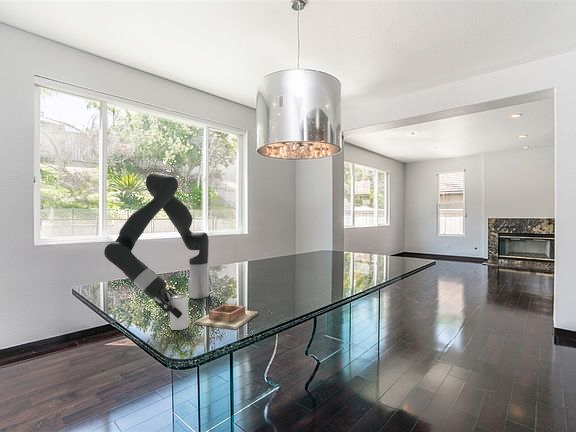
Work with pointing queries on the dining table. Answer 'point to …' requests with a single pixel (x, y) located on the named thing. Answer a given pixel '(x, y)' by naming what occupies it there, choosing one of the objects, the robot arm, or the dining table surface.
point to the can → (182, 305)
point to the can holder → (227, 317)
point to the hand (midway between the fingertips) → (183, 312)
